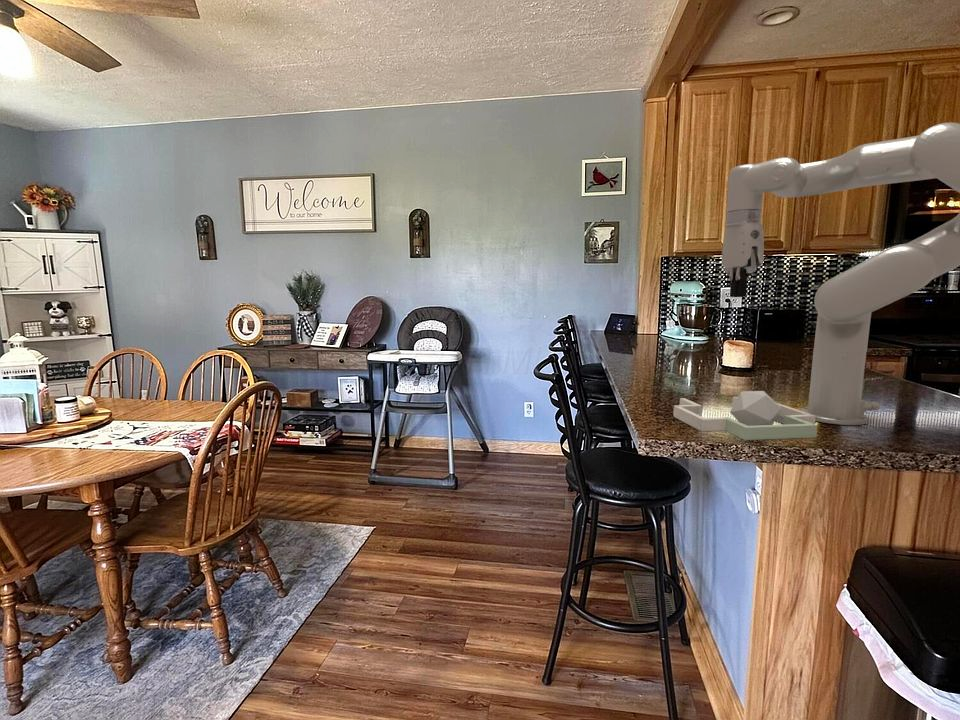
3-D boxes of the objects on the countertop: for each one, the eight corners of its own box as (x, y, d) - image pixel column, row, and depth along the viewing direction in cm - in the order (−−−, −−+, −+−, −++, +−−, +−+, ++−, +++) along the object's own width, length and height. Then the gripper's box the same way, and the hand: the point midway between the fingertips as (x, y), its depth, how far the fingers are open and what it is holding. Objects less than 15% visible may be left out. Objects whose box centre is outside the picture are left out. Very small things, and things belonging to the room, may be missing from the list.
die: (777, 439, 99) (795, 398, 101) (739, 417, 99) (757, 377, 102) (753, 441, 107) (769, 403, 109) (717, 421, 107) (734, 383, 110)
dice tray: (756, 405, 124) (757, 396, 123) (840, 436, 98) (841, 424, 98) (659, 408, 121) (659, 398, 121) (719, 441, 96) (720, 428, 96)
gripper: (779, 215, 111) (773, 297, 114) (738, 223, 126) (733, 296, 129) (748, 215, 111) (742, 297, 113) (711, 223, 125) (706, 296, 128)
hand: (737, 296), depth 121 cm, fingers closed
